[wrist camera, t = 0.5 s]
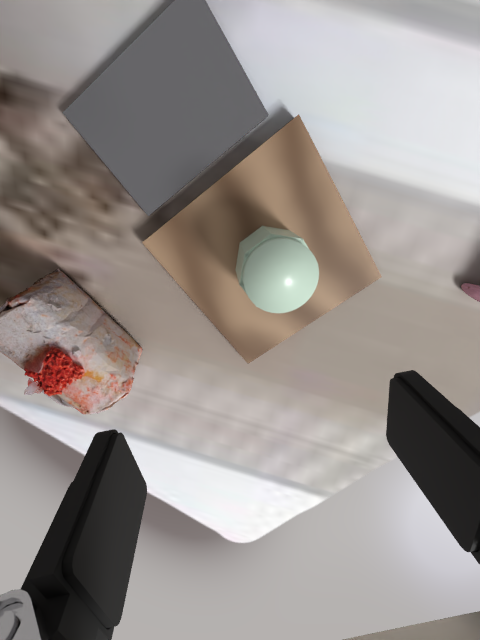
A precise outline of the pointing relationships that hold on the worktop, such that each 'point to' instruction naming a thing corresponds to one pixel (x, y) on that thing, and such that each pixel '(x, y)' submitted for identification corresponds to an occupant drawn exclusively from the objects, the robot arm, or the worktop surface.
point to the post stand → (249, 215)
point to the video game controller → (472, 290)
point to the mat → (168, 104)
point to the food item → (68, 345)
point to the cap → (276, 269)
